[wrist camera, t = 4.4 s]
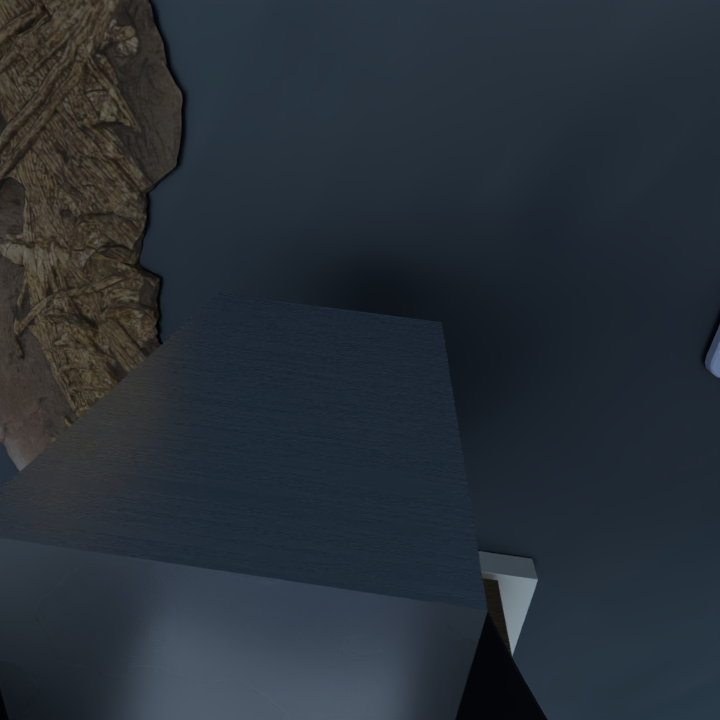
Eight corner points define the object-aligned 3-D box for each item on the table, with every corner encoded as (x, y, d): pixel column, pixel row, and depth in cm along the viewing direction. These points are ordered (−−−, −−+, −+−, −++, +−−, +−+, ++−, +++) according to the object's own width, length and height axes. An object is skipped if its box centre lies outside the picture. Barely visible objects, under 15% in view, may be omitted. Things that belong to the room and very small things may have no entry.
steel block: (441, 322, 9) (487, 610, 4) (384, 631, 13) (365, 1018, 7) (218, 293, 9) (-47, 532, 4) (221, 606, 13) (81, 968, 7)
